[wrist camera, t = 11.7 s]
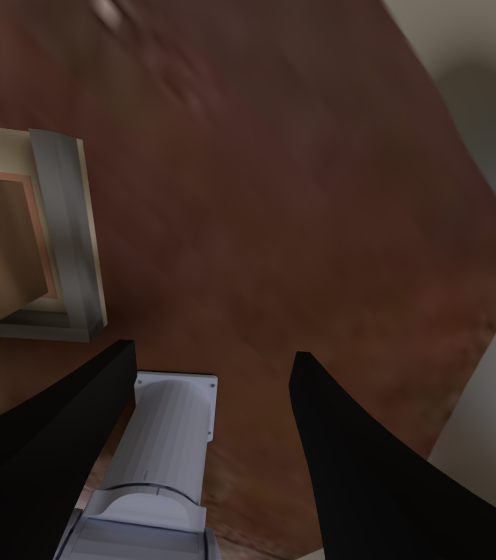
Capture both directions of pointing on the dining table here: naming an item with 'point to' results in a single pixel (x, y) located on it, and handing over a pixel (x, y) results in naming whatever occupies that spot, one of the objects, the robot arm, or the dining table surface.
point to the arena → (56, 236)
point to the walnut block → (18, 251)
